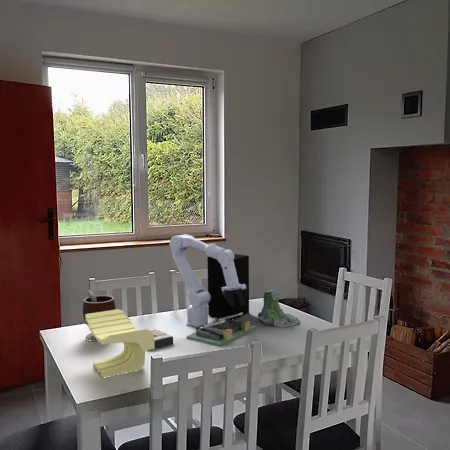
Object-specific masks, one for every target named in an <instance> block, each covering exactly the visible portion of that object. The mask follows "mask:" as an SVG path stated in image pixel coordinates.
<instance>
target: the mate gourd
mask: <svg viewBox="0 0 450 450" xmlns="http://www.w3.org/2000/svg"><path fill="white" fill-rule="evenodd" d="M86 292H88V294H89V297H86V298H84V299H83V303H82V304H83V305H82V316H83V320H84V324H86V326H87V327H88V328H90V327H89V326H88V322H86V319H85V314H90V313H97V312H103V311H110V310H117V308H116V302H115V297H114V296H110V295H95V294H94V292H92V291H91V290H89V289H87V291H86ZM86 339H88V340H91V341H98V340H97V339H96V338H95V337H94V336H93V335H92V332H91V333H89V334H87V335H86V336H85V340H86ZM88 340H87V341H88ZM91 341H90V342H91Z"/></svg>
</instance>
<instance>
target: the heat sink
mask: <svg viewBox="0 0 450 450" xmlns="http://www.w3.org/2000/svg"><path fill="white" fill-rule="evenodd" d="M221 318H222V317H219V318H218V317H216V318H214V321H212V322H211V323H210V324H213V323H216V322H220V321H218V320H219V319H221ZM221 321H223V320H221ZM203 326H204V325H200V326H198V327H196V326H195V330H196V331H195V332H196V336H200V337H205V338H209V339H214V340H218V341H219V340H221V339H223V340H229V339H231V338H232V334H233V333H235V332H237V331H240V330H241V331H244V332H245V331H247V330H249V329H250V321H249V320H245V321H239V320H235V319H233V320H229V319H225V322H223V323H220V324H217V325H213V326H210V327H206V328H203V329H200V327H203Z"/></svg>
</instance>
